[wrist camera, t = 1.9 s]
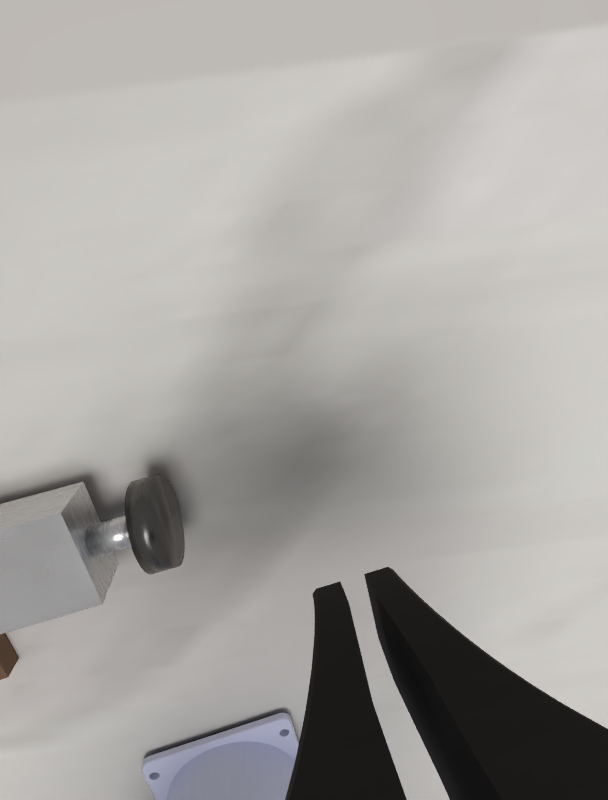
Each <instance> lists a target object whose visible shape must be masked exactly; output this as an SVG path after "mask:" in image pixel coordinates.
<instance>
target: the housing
mask: <svg viewBox="0 0 608 800" xmlns="http://www.w3.org/2000/svg"><path fill="white" fill-rule="evenodd" d="M17 660H18V656H17V654H16V653H15V651H14V649H13V647H12V646H11V644H10V642H9V640H8V639H7V637H6V635H5V633H3V634H0V680H1V679H4V678H7V677H8V676H9V675H10V673H11V671H12V669H13V667H14V666H15V664H16V662H17Z"/></svg>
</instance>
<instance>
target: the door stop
mask: <svg viewBox="0 0 608 800" xmlns="http://www.w3.org/2000/svg"><path fill="white" fill-rule="evenodd" d="M131 546H132V550H133V552H134V555H135V557H136V559H137V561H138V563H139V565H140V566H141V568H142V569H143V570H144V571H145V572H146V573H148V574H154V573H158V572H161V571H164V570H168V569H171V568H175V567H178V566H180V565H181V564H182V562H183V558H184V549H185V543H184V531H183V524H182V519H181V514H180V510H179V506H178V503H177V500H176V497H175V494H174V492H173V489H172V487H171V485H170V483H169V482H168V480H167V479H166V478H165V476H163V475H162V474H158V475H154V476H150V477H147V478H143V479H139V480H136V481H133V482H131V483H130V484H129V486H128V489H127V492H126V498H125V516H121V517H118V518H114V519H111V520H107V521H104V522H101V521H100V519H99V517H98V514H97V512H96V510H95V508H94V505H93V503H92V501H91V498H90V496H89V494H88V491H87V489H86V487H85V484H84V482H80V483H76V484H72V485H69V486H65V487H61V488H58V489H54V490H50V491H46V492H43V493H39V494H35V495H32V496H28V497H24V498H21V499H17V500H13V501H10V502H6V503H2V504H0V634H3V633H6V632H10V631H13V630H17V629H20V628H23V627H27V626H30V625H34V624H37V623H40V622H44V621H47V620H50V619H54V618H57V617H61V616H64V615H67V614H71V613H74V612H77V611H81V610H84V609H88V608H91V607H94V606H98V605H101V604H103V602H104V599H105V597H106V594H107V592H108V589H109V586H110V584H111V581H112V579H113V576H114V574H115V571H116V569H117V566H118V564H119V563H118V561H117V559H116V556H115V554H114V552H113V551H117V550H120V549H124V548H127V547H131Z"/></svg>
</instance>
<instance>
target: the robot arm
mask: <svg viewBox="0 0 608 800" xmlns="http://www.w3.org/2000/svg"><path fill="white" fill-rule="evenodd" d="M365 579H366V583H367V588H368V592H369V597H370V601H371V606H372V611H373V615H374V620H375V624H376V629H377V633H378V638H379V641H380V643H381V646H382V649H383V652H384V654H385V657H386V660H387V663H388V665H389V668H390V671H391V674H392V676H393V679H394V681H395V684H396V686H397V688H398V690H399V692H400V694H401V696H402V698H403V701H404V703H405V705H406V707H407V709H408V711H409V713H410V715H411V717H412V720H413V722H414V724H415V726H416V728H417V730H418V732H419V734H420V736H421V738H422V741H423V743H424V745H425V747H426V749H427V751H428V753H429V755H430V757H431V759H432V762H433V764H434V766H435V768H436V770H437V772H438V774H439V776H440V778H441V780H442V783H443V785H444V787H445V789H446V792H447V794H448V796H449V798H450V800H608V729H607V728H605V727H603V726H601V725H600V724H598V723H596V722H594V721H592V720H591V719H589V718H587V717H585V716H584V715H582V714H580V713H578V712H576V711H575V710H573V709H571V708H569V707H568V706H566V705H564V704H562V703H561V702H559V701H557V700H556V699H554V698H553V697H551V696H549V695H548V694H546V693H545V692H543V691H541V690H540V689H538V688H537V687H535V686H533V685H532V684H530V683H529V682H527V681H526V680H524V679H523V678H521V677H520V676H518V675H517V674H515V673H514V672H512V671H511V670H509V669H508V668H507V667H505V666H504V665H502V664H501V663H499V662H498V661H497V660H495V659H494V658H493V657H491V656H490V655H489V654H487V653H486V652H485V651H483V650H482V649H481V648H479V647H478V646H477V645H475V644H474V643H473V642H471V641H470V640H469V639H468V638H466V637H465V636H464V635H463V634H461V633H460V632H459V631H458V630H456V629H455V628H454V627H453V626H452V625H451V624H449V623H448V622H447V621H446V620H445V619H444V618H442V617H441V616H440V615H439V614H438V613H437V612H435V611H434V610H433V609H432V608H431V607H430V606H429V605H428V604H427V603H425V602H424V601H423V600H422V599H421V598H420V597H419V596H418V595H417V594H416V593H415V592H414V591H413V590H412V589H411V588H410V587H409V586H408V585H407V584H406V583H405V582H404V581H403V580H402V579H401V578H400V577H399V576H398V575H397V574H396V573H395V571H394V570H393V569H391V568H389V567H386V568H383V569H380V570H376V571H373V572H370V573H367V574H365ZM313 598H314V607H315V636H314V649H313V661H312V671H311V678H310V685H309V692H308V698H307V705H306V711H305V717H304V722H303V727H302V732H301V737H300V741H299V742H298V739H297V736H296V733H295V730H294V726H293V723H292V720H291V717H290V716H289V714H287V713H278V714H275V715H272V716H269V717H266V718H263V719H260V720H257V721H254V722H251V723H248V724H245V725H242V726H239V727H236V728H233V729H230V730H227V731H224V732H220V733H217V734H214V735H211V736H208V737H205V738H202V739H199V740H196V741H193V742H190V743H187V744H184V745H181V746H178V747H175V748H172V749H169V750H166V751H163V752H160V753H156V754H153V755H150V756H148V757H146V758H145V759H144V760H143V763H142V768H141V770H142V773H143V775H144V777H145V779H146V781H147V783H148V785H149V787H150V789H151V791H152V793H153V795H154V797H155V799H156V800H406V797H405V794H404V791H403V788H402V786H401V783H400V780H399V777H398V774H397V771H396V768H395V766H394V763H393V760H392V757H391V754H390V751H389V749H388V746H387V743H386V740H385V737H384V734H383V731H382V728H381V725H380V723H379V720H378V717H377V714H376V711H375V708H374V705H373V702H372V698H371V694H370V690H369V685H368V681H367V677H366V673H365V669H364V665H363V661H362V656H361V652H360V648H359V644H358V640H357V636H356V631H355V627H354V623H353V619H352V615H351V611H350V606H349V603H348V600H347V597H346V595H345V592H344V590H343V587H342V585H341V583H340V582H337V583H334V584H331V585H327V586H324V587H321V588H318V589H316V590H315V591H314V593H313Z"/></svg>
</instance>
